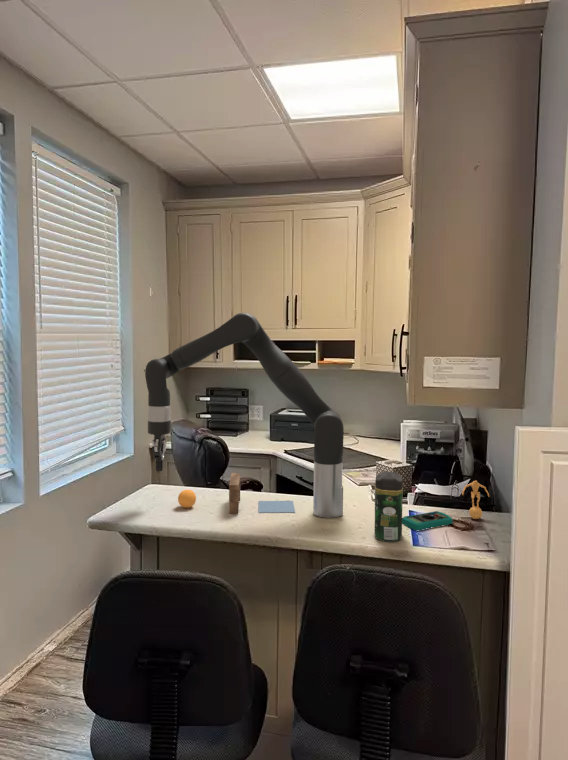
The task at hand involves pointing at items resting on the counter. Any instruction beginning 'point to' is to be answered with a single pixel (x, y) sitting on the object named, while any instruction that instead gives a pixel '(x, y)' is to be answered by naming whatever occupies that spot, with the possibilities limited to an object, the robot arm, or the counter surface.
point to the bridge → (234, 493)
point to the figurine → (475, 510)
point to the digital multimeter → (426, 520)
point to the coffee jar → (388, 506)
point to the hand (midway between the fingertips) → (159, 470)
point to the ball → (187, 498)
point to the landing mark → (276, 507)
